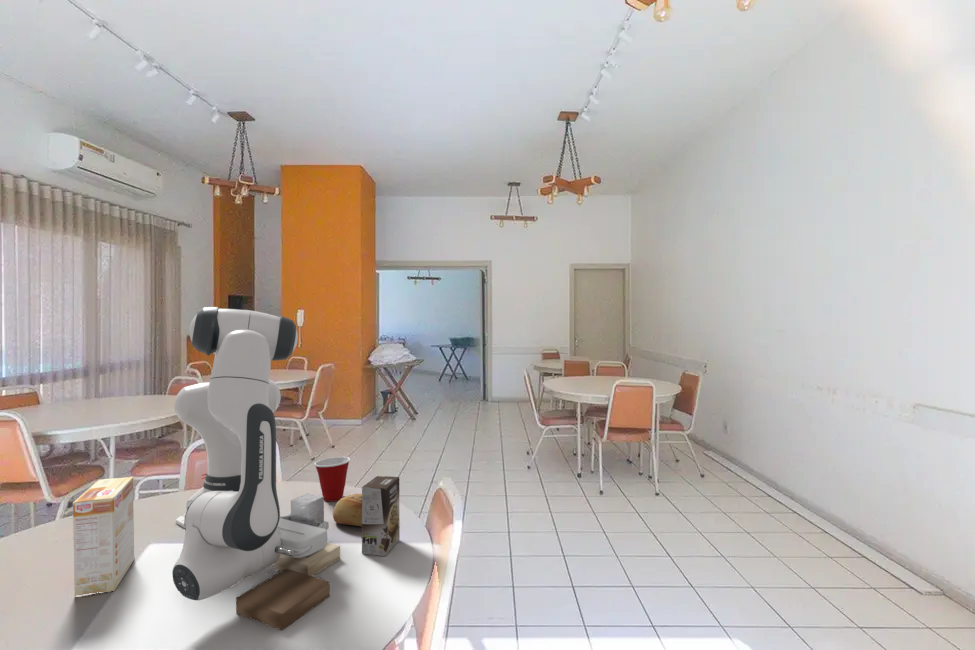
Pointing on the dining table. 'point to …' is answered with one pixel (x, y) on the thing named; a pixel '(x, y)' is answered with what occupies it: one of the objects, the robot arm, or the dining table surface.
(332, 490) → the plastic cup
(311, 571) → the birch stand
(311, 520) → the grey tall rectangular block
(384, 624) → the dining table surface
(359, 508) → the bread roll
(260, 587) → the walnut stand
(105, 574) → the coffeecake box
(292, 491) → the dining table surface
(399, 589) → the dining table surface
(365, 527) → the coffee box
